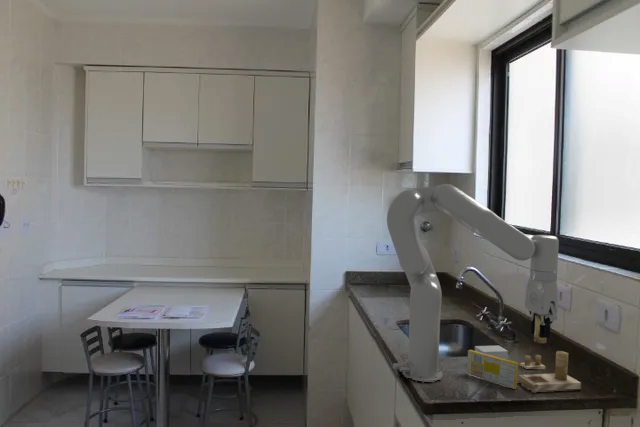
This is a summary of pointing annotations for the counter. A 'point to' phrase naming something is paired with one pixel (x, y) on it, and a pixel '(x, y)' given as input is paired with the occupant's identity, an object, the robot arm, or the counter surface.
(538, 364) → the wooden knobbed lid
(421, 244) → the robot arm
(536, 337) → the peg
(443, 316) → the counter surface
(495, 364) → the candy box
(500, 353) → the cover
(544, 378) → the board
